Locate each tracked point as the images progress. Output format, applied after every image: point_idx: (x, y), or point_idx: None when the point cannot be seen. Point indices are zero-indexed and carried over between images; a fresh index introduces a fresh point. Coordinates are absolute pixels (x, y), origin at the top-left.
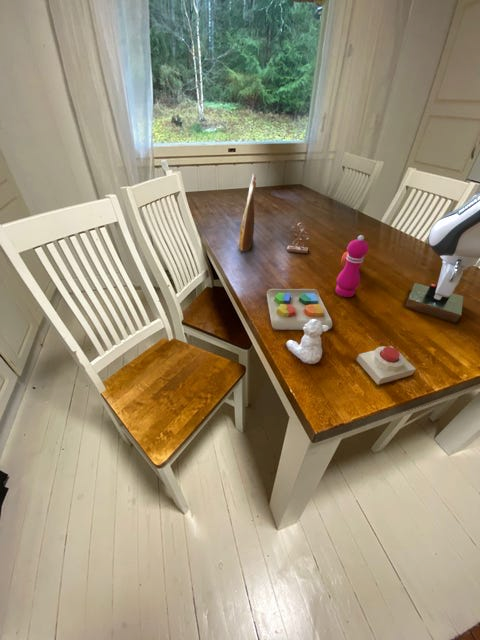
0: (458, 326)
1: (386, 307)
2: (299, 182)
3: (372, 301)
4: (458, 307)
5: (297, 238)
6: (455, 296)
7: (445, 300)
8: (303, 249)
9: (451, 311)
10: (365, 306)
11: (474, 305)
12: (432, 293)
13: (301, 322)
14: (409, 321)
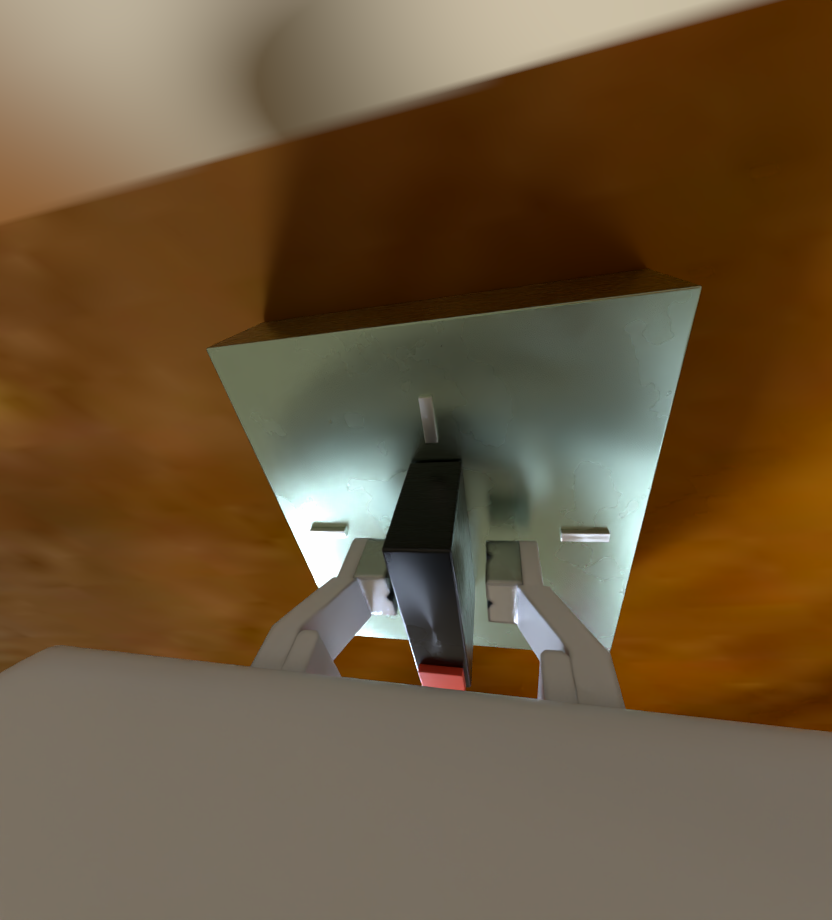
0: (718, 228)
1: (662, 653)
2: None
3: (631, 692)
4: (509, 351)
5: None
6: (284, 411)
7: (463, 481)
8: None
9: (665, 400)
10: (707, 709)
11: (143, 181)
12: (471, 596)
13: None
14: (801, 562)
